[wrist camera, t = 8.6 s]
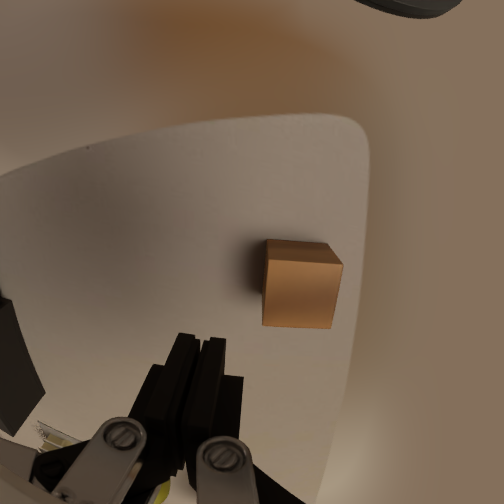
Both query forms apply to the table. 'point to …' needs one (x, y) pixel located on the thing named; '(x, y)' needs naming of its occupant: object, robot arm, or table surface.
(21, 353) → the dark grey box
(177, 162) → the table surface
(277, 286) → the block
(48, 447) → the stacked layers on plate
